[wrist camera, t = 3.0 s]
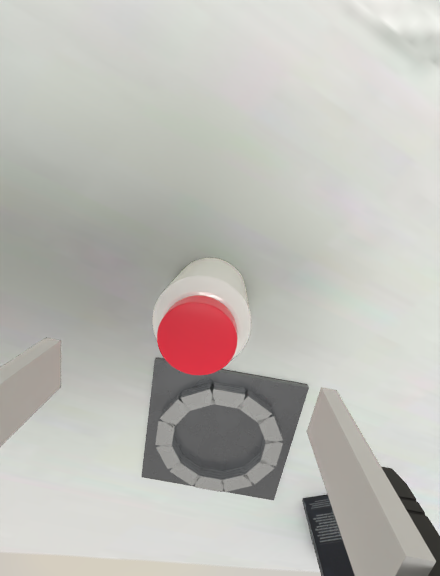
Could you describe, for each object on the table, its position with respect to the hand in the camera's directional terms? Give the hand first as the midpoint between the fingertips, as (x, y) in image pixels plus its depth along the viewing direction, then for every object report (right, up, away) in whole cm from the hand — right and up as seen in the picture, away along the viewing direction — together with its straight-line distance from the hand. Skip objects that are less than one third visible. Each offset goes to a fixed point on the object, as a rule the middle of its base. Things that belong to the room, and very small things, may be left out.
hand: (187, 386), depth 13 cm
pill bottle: (+1, +4, +15) cm, 16 cm away
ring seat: (+2, -13, +20) cm, 24 cm away
